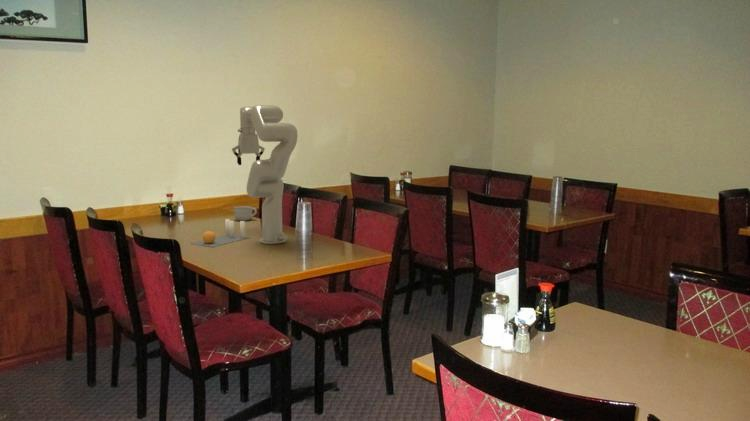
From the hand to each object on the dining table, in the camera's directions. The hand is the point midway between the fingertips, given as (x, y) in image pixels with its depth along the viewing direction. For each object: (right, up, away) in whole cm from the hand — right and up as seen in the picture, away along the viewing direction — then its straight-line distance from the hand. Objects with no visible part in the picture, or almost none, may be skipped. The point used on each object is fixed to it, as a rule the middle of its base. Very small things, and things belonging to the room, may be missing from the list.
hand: (248, 164), depth 305 cm
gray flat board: (-9, -39, -18) cm, 44 cm away
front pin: (-6, -38, -12) cm, 40 cm away
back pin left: (0, -38, -12) cm, 40 cm away
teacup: (-10, -30, +36) cm, 48 cm away
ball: (-13, -37, -25) cm, 47 cm away
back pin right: (-9, -37, -7) cm, 39 cm away
